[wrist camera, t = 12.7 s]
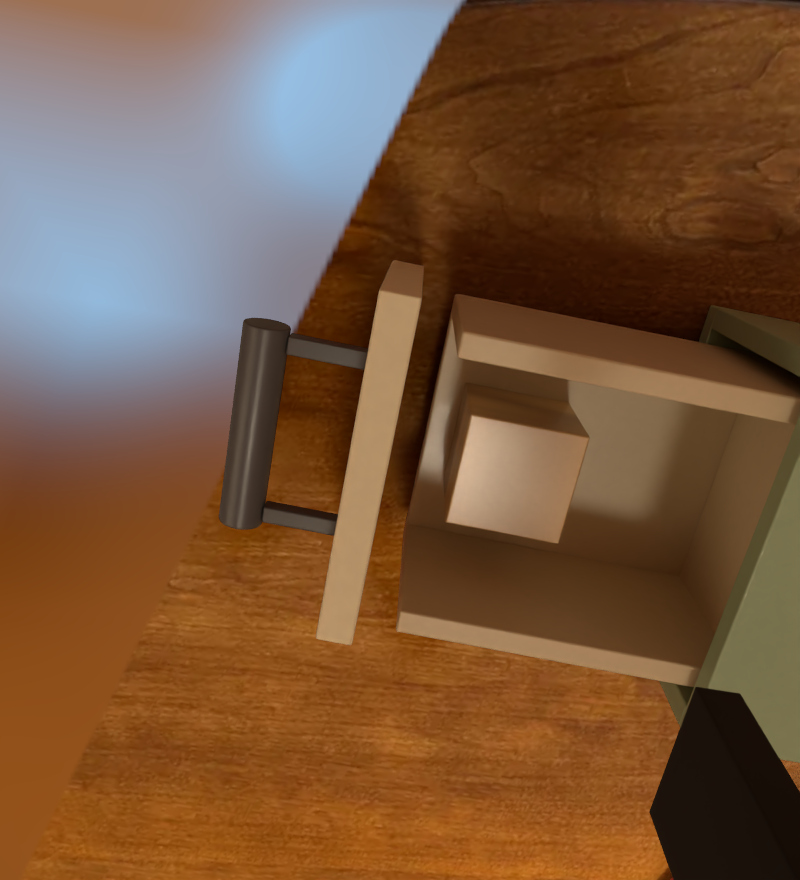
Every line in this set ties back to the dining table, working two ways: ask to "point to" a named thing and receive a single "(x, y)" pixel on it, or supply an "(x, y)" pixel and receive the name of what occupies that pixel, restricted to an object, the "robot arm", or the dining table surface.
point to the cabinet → (761, 569)
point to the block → (513, 463)
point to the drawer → (594, 500)
